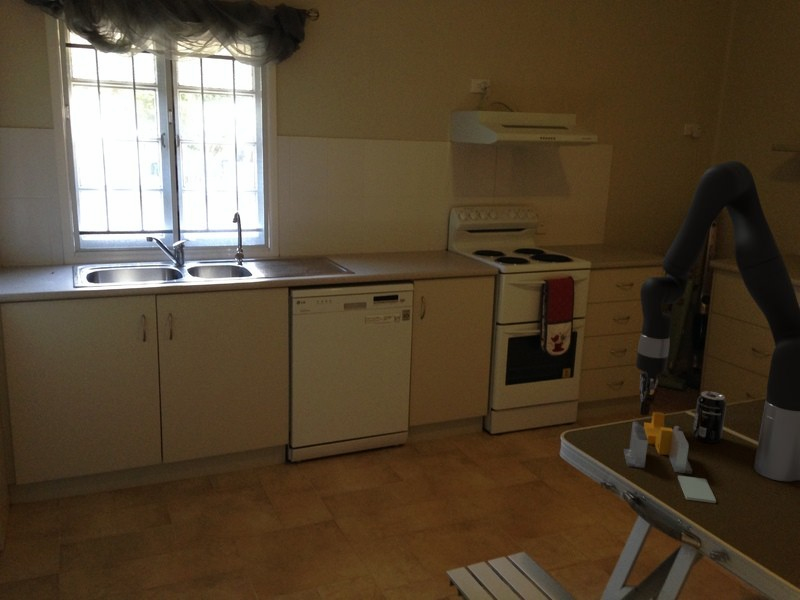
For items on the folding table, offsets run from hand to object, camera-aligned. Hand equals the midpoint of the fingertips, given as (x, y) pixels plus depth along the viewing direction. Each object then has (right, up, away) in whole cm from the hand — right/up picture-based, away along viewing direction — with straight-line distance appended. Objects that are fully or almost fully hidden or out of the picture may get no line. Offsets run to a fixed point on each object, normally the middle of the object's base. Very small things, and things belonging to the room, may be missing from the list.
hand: (643, 413), depth 190 cm
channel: (-3, -8, -18) cm, 20 cm away
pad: (+1, -12, -32) cm, 34 cm away
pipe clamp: (0, -6, -9) cm, 11 cm away
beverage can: (+14, -6, -5) cm, 16 cm away
